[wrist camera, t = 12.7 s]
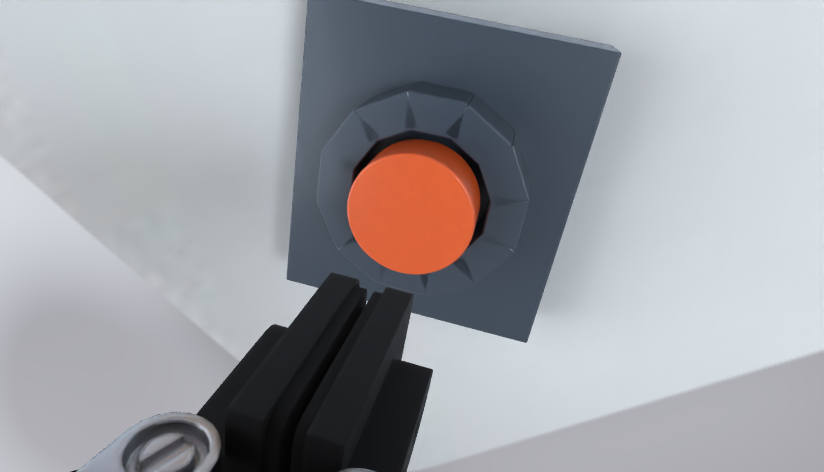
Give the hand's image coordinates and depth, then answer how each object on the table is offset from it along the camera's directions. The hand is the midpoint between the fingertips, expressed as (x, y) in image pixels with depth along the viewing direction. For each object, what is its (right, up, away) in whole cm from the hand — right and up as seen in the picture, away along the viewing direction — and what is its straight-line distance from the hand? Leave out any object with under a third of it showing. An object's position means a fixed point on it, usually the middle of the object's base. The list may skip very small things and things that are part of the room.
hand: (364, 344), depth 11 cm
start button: (+1, +3, +7) cm, 8 cm away
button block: (+2, +5, +10) cm, 12 cm away
